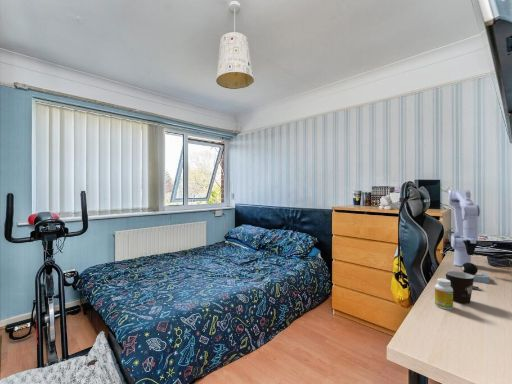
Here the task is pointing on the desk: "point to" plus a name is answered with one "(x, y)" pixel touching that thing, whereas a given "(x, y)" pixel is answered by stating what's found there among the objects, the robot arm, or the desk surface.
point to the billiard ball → (469, 268)
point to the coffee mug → (460, 286)
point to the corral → (480, 277)
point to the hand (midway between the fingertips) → (470, 254)
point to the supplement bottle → (443, 294)
